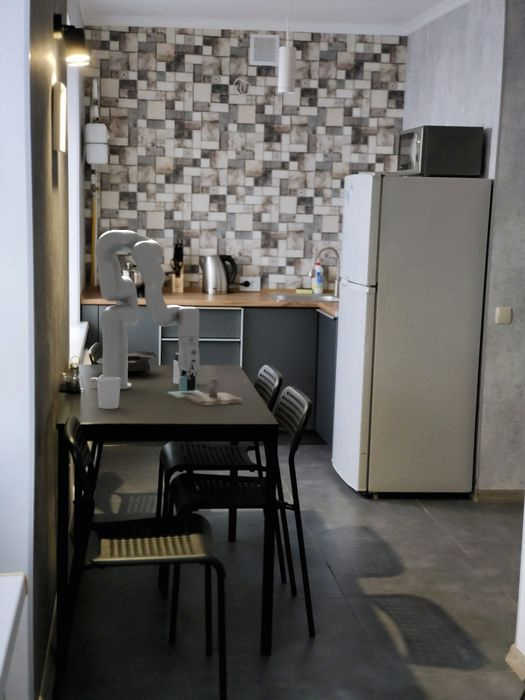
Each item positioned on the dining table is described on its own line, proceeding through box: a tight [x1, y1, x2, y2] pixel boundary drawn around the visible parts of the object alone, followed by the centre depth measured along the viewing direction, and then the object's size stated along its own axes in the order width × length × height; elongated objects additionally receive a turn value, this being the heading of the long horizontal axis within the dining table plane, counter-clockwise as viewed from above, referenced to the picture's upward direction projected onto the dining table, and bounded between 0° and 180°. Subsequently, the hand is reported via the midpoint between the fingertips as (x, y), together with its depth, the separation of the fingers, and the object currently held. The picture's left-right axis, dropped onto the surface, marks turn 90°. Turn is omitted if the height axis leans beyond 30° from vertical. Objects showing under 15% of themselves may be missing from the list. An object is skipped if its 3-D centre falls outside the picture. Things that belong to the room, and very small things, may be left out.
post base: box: [184, 377, 243, 407], centre depth 334 cm, size 16×14×8 cm
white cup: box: [96, 376, 121, 410], centre depth 316 cm, size 8×8×10 cm
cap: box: [178, 374, 197, 392], centre depth 344 cm, size 6×6×6 cm
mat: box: [167, 389, 205, 399], centre depth 344 cm, size 12×10×1 cm
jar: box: [172, 352, 193, 386], centre depth 369 cm, size 9×8×12 cm
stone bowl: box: [96, 350, 158, 376], centre depth 389 cm, size 25×25×9 cm
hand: (187, 387), depth 344 cm, fingers closed on cap, 6 cm apart
